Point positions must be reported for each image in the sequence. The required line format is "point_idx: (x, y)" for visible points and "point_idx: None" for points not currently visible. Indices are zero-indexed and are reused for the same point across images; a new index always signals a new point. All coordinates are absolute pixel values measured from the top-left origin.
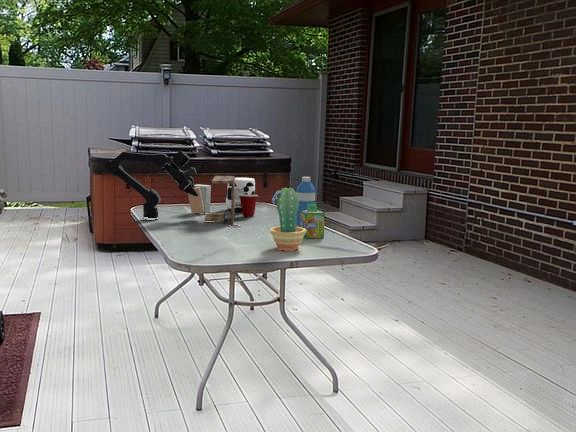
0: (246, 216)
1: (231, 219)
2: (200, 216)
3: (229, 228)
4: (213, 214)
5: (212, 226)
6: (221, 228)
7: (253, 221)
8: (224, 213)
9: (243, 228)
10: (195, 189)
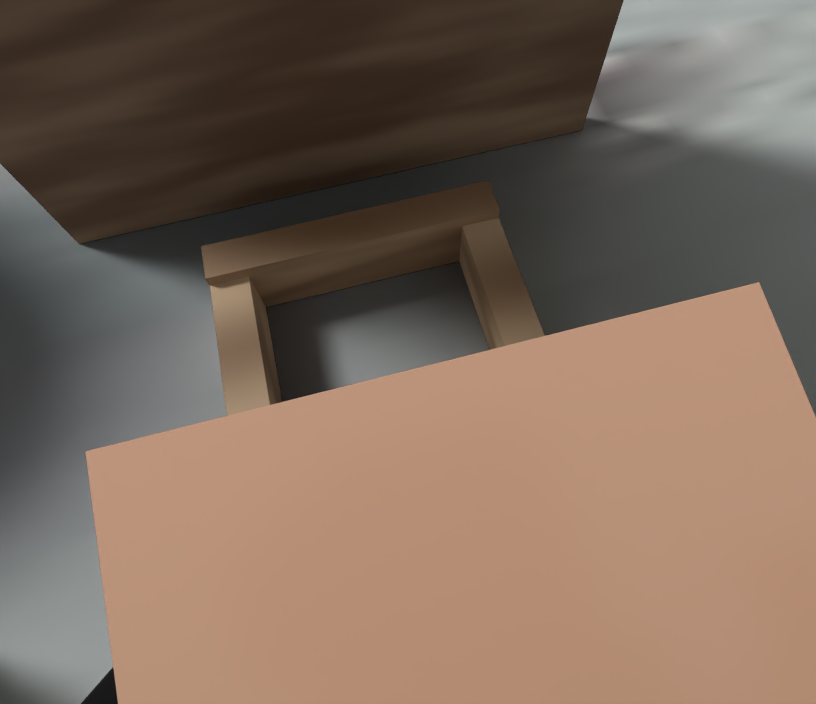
0: None
1: (596, 82)
2: (107, 653)
3: (769, 98)
4: (267, 378)
5: (763, 262)
6: (812, 155)
7: None
8: (257, 234)
9: (702, 10)
10: (808, 500)
